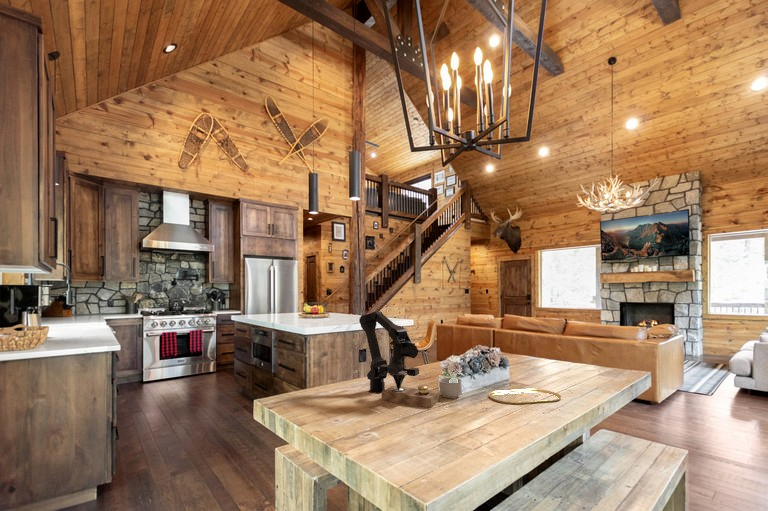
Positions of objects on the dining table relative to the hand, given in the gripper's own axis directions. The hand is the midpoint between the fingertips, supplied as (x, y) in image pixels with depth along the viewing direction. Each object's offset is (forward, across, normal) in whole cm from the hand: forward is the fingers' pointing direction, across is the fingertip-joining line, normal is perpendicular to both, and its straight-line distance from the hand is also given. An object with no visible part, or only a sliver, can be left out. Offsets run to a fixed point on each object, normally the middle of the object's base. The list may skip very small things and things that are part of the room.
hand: (398, 388), depth 181 cm
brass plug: (+1, +12, 0) cm, 12 cm away
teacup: (+5, +20, +16) cm, 26 cm away
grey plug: (+3, 0, 0) cm, 3 cm away
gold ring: (+5, +53, +29) cm, 61 cm away
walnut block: (+5, +6, 0) cm, 8 cm away
